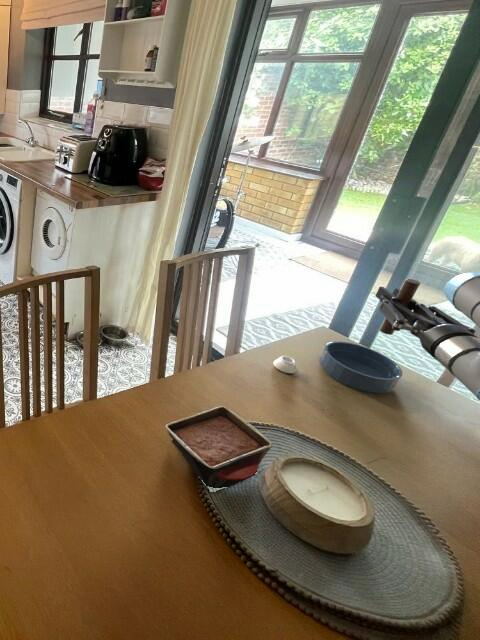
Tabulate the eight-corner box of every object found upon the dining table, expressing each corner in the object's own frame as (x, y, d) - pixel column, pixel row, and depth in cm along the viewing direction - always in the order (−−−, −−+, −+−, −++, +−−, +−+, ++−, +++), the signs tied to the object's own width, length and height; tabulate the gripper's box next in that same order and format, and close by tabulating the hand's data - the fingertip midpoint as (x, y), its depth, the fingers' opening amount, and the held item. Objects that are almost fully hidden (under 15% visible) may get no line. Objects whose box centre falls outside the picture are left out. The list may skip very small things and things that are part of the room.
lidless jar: (285, 361, 113) (268, 362, 113) (289, 353, 112) (272, 353, 112) (300, 374, 109) (282, 374, 108) (304, 365, 107) (285, 366, 107)
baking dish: (153, 444, 91) (158, 415, 85) (222, 420, 93) (231, 391, 88) (200, 509, 79) (210, 480, 73) (278, 479, 81) (293, 449, 76)
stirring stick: (392, 331, 99) (420, 281, 93) (392, 336, 98) (420, 284, 92) (379, 327, 101) (405, 277, 95) (379, 331, 99) (405, 281, 93)
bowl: (393, 373, 109) (402, 358, 107) (393, 404, 99) (402, 389, 97) (321, 348, 118) (328, 334, 116) (314, 374, 108) (321, 360, 106)
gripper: (400, 357, 84) (343, 300, 104) (498, 373, 80) (418, 310, 100) (418, 327, 81) (355, 274, 101) (520, 341, 76) (433, 283, 97)
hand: (387, 292), depth 100 cm, fingers closed on stirring stick, 2 cm apart
